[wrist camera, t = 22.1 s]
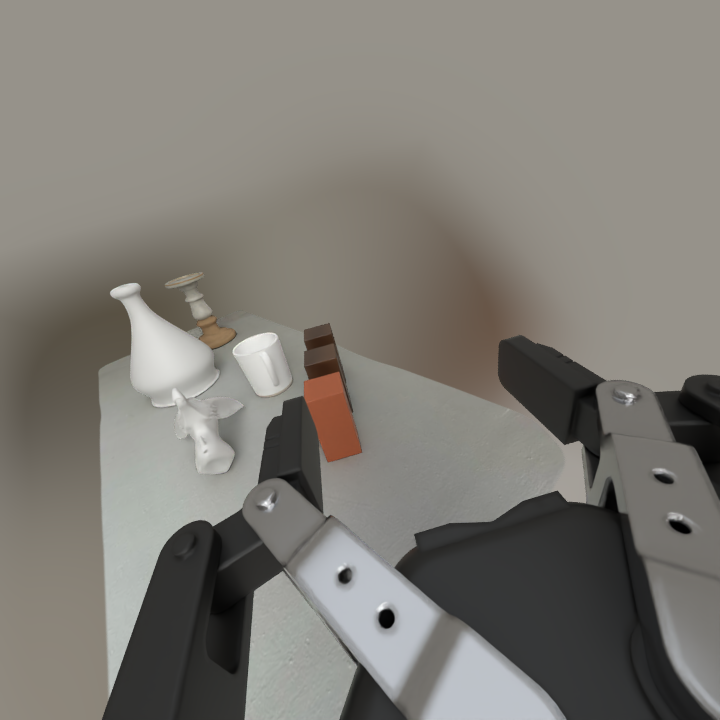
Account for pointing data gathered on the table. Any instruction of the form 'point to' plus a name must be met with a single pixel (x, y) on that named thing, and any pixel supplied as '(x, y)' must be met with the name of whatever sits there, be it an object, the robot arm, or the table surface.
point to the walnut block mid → (324, 364)
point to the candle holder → (202, 311)
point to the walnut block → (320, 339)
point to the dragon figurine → (205, 429)
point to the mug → (264, 364)
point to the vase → (164, 353)
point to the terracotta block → (332, 416)
